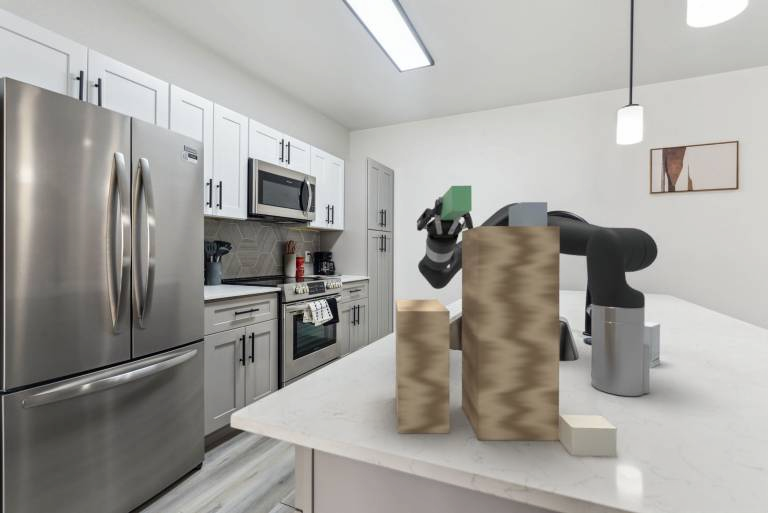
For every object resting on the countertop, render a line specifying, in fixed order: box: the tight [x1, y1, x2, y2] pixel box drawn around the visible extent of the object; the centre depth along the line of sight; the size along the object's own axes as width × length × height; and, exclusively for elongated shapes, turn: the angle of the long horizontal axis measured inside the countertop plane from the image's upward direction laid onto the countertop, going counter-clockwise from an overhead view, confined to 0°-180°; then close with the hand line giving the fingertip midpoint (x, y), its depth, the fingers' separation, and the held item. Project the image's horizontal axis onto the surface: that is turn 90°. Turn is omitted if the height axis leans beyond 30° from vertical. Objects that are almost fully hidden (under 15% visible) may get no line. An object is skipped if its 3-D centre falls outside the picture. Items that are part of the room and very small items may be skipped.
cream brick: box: [558, 414, 618, 458], centre depth 52 cm, size 6×4×4 cm, turn 87°
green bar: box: [440, 185, 473, 220], centre depth 75 cm, size 4×20×4 cm, turn 179°
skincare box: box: [644, 320, 661, 369], centre depth 94 cm, size 10×6×10 cm, turn 36°
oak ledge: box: [395, 299, 451, 434], centre depth 63 cm, size 8×14×19 cm, turn 0°
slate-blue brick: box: [509, 201, 548, 226], centre depth 60 cm, size 4×6×4 cm, turn 0°
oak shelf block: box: [461, 225, 561, 441], centre depth 60 cm, size 12×12×32 cm
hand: (450, 200), depth 78 cm, fingers closed on green bar, 3 cm apart
